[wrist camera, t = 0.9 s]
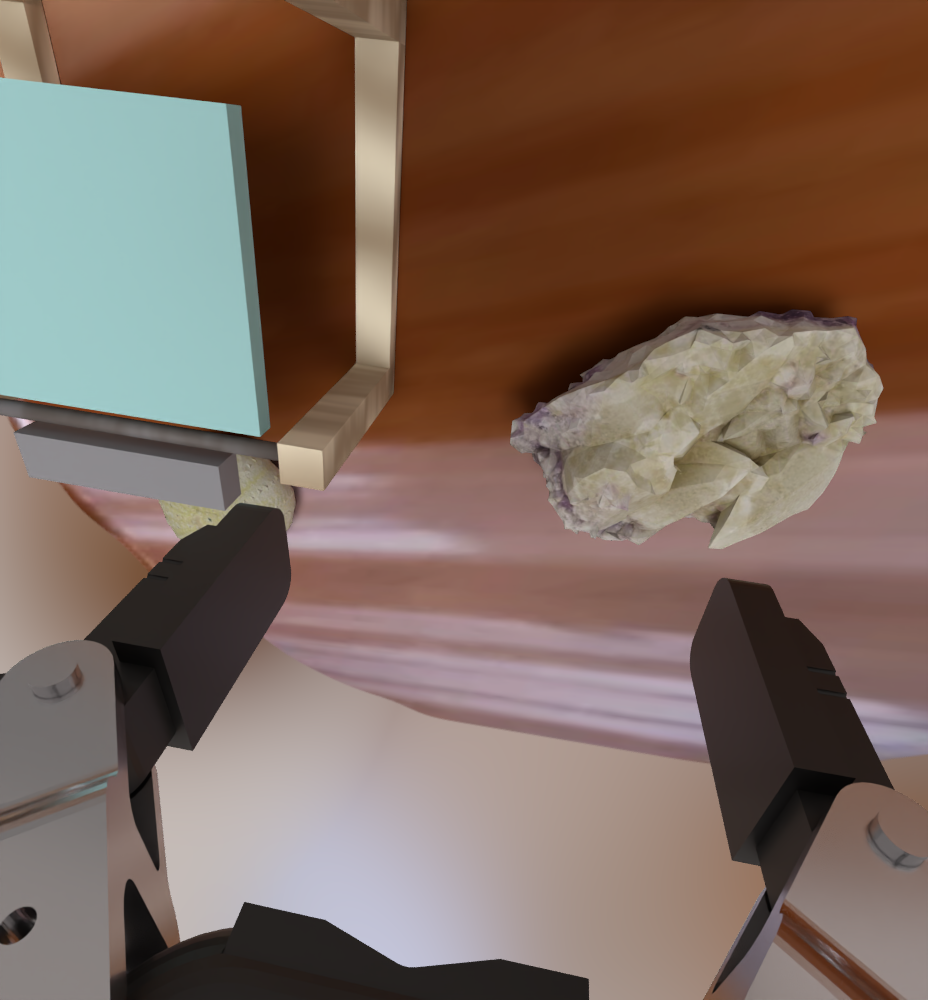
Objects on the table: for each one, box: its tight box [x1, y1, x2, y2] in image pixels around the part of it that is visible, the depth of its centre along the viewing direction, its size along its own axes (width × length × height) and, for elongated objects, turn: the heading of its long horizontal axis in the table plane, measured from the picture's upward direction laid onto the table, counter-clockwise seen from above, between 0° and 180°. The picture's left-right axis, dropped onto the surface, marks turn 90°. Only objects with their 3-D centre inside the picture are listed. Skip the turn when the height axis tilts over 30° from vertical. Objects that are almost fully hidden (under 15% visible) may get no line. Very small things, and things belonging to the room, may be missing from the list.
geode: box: [510, 309, 883, 549], centre depth 30 cm, size 17×9×15 cm
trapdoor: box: [0, 78, 270, 511], centre depth 24 cm, size 16×14×2 cm
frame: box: [0, 0, 407, 491], centre depth 26 cm, size 19×20×12 cm
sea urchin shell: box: [159, 454, 296, 539], centre depth 39 cm, size 9×8×8 cm
